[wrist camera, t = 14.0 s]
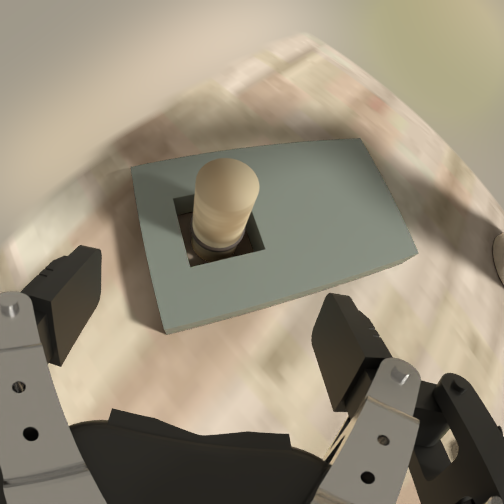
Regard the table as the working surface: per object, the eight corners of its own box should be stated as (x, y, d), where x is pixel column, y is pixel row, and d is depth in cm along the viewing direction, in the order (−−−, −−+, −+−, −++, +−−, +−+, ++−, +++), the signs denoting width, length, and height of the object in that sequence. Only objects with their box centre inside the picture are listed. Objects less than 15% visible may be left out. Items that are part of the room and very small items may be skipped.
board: (349, 154, 35) (360, 138, 32) (401, 263, 31) (418, 253, 28) (134, 185, 28) (130, 167, 25) (166, 334, 24) (164, 329, 21)
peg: (231, 214, 29) (249, 152, 21) (245, 257, 28) (271, 206, 20) (184, 224, 28) (186, 162, 20) (196, 269, 27) (202, 219, 18)
